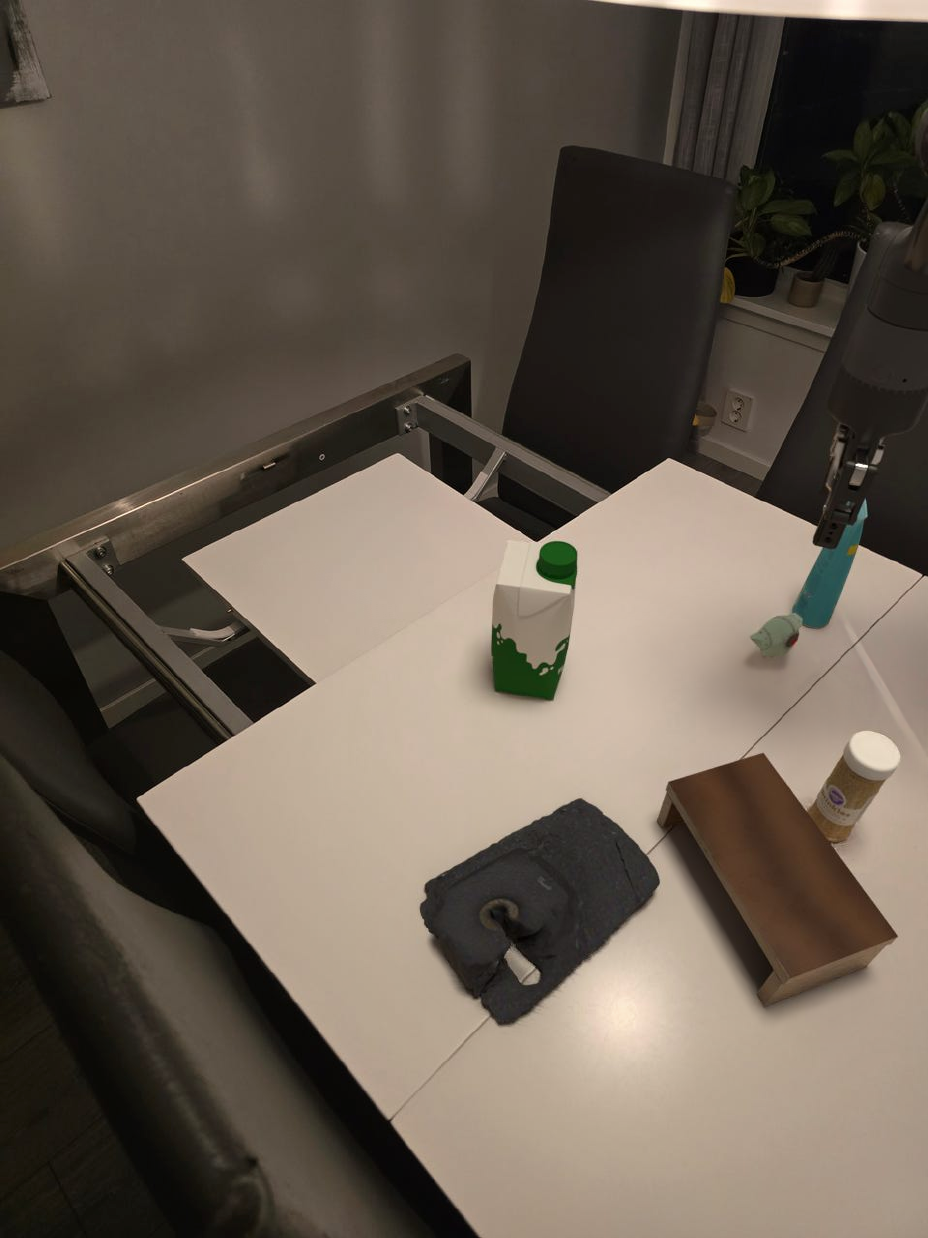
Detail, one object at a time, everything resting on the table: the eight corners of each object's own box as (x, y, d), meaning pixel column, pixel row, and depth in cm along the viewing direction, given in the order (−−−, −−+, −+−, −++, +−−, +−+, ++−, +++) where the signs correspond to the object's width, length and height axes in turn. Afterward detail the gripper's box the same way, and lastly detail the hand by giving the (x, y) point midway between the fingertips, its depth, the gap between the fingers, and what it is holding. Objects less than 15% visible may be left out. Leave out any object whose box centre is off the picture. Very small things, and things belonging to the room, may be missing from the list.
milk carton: (559, 708, 93) (576, 583, 79) (484, 695, 94) (488, 571, 80) (567, 654, 99) (585, 530, 85) (497, 643, 100) (503, 519, 86)
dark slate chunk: (681, 907, 76) (691, 884, 72) (492, 1039, 67) (493, 1020, 64) (583, 791, 85) (588, 766, 81) (405, 895, 76) (402, 872, 73)
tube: (833, 637, 101) (890, 518, 88) (794, 632, 102) (845, 513, 88) (825, 598, 106) (878, 481, 93) (788, 594, 107) (835, 476, 93)
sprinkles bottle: (797, 823, 82) (840, 747, 73) (819, 797, 84) (864, 720, 75) (837, 852, 80) (888, 778, 70) (859, 825, 82) (911, 749, 72)
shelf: (745, 790, 85) (763, 752, 80) (868, 968, 72) (898, 936, 67) (655, 818, 82) (668, 781, 77) (765, 1009, 69) (788, 979, 64)
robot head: (780, 635, 101) (795, 597, 97) (804, 655, 99) (822, 617, 94) (735, 659, 98) (749, 621, 94) (759, 680, 96) (775, 642, 91)
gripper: (941, 415, 60) (864, 574, 71) (937, 336, 69) (869, 488, 80) (838, 396, 62) (779, 554, 73) (847, 322, 71) (794, 472, 82)
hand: (826, 519), depth 77 cm, fingers open, 8 cm apart
